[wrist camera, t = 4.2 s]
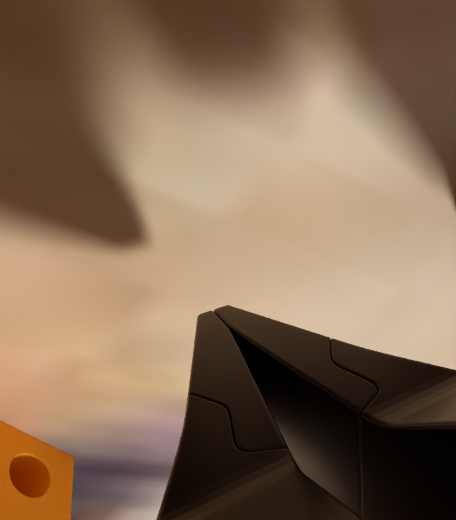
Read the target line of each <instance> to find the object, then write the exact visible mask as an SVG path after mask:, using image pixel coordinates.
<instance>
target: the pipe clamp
mask: <svg viewBox="0 0 456 520" xmlns="http://www.w3.org/2000/svg"><path fill="white" fill-rule="evenodd" d="M73 467H74V457H73V456H71V455H69V454H67V453H65V452H63V451H60V450H58V449H56V448H54V447H52V446H50V445H48V444H46V443H44V442H42V441H40V440H38V439H36V438H34V437H32V436H30V435H28V434H26V433H24V432H22V431H20V430H18V429H16V428H14V427H12V426H10V425H8V424H6V423H3V422H1V421H0V520H70V516H71V500H72V484H73Z"/></svg>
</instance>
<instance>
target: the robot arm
mask: <svg viewBox="0 0 456 520" xmlns="http://www.w3.org/2000/svg"><path fill="white" fill-rule="evenodd" d="M157 520H456V370H453V369H449V368H444V367H440V366H436V365H431V364H427V363H423V362H419V361H414V360H410V359H406V358H402V357H397V356H393V355H389V354H385V353H381V352H377V351H373V350H369V349H365V348H362V347H359V346H355V345H352V344H349V343H345V342H342V341H339V340H336V339H330V338H329V337H326V336H323V335H320V334H317V333H314V332H310V331H307V330H304V329H301V328H298V327H295V326H292V325H289V324H285V323H282V322H279V321H276V320H273V319H270V318H267V317H264V316H260V315H257V314H254V313H251V312H248V311H245V310H242V309H239V308H235V307H232V306H229V305H227V306H223V307H220V308H217V309H215V310H214V312H213V311H208V312H205V313H202V314H200V315H198V318H197V326H196V334H195V342H194V350H193V359H192V367H191V375H190V383H189V391H188V398H187V406H186V413H185V419H184V425H183V430H182V433H181V437H180V441H179V445H178V449H177V453H176V456H175V459H174V463H173V466H172V470H171V473H170V476H169V480H168V483H167V487H166V490H165V493H164V497H163V500H162V504H161V507H160V510H159V513H158V517H157Z"/></svg>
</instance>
